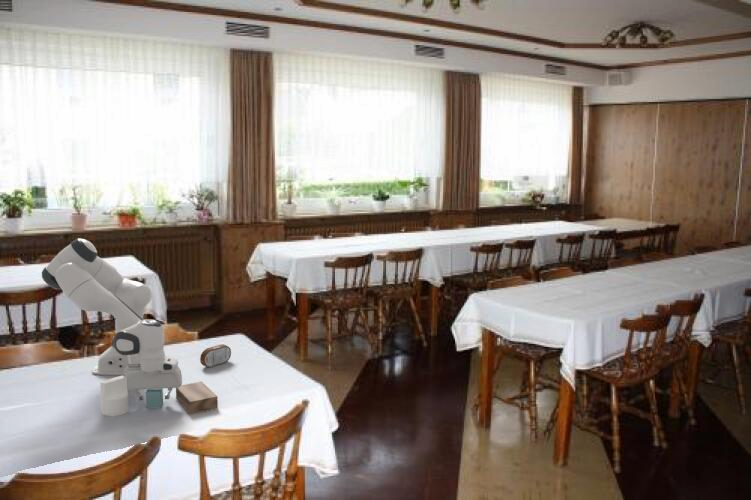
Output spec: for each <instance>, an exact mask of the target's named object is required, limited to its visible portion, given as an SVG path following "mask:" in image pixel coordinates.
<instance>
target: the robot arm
mask: <svg viewBox="0 0 751 500" xmlns="http://www.w3.org/2000/svg"><path fill="white" fill-rule="evenodd" d="M41 278H42V280H43V282H45V283H46V285H48V286H49V287H50V288H51V289H55V290H62V292H63V293H64V294H65V296H66V297H67V298H68V299H69V301H71V302H72V303H73V304H74V305H75V306H76V307H77V308H79V309H81V310H82V311H85V312H103V313H107V314H110V315H111V316H113V317H114V318H115V320H114V325H115V334H114V335H113V336H112V338H111V339H110V345H111V346H109V347H108V348H107V349H106V350H104V352H103V353H101V354H100V355H99V358H98V363H97V364H96V365H95V366H94V367H93V368H92V374H93V375H106V376H109V375H110V376H122V375H123V376H125V377H127V390H128V391H129V390H130V391H132V390H134V393H135V394H136V397H137V398H138V399H137V400H138V402H139V401H143V400H144V394H141V392H140V390H147V389H160V388H163V389H167V391H168V392H167V393H166V392H165V394H164V400H170V399H171V392H172V391H173V389H176V388H179V387H180V386H181V385H183V376H182V371H181V368H180V367H179V366H178V365H179V360H178V359H176V358H173V357H168V356H166V353H165V350H164V347H165V335H164V334H165V333H164V328H163V324H162V323H161V322H160V321H158V320H157V319H151V318H147V319H144V314H145V310H146V307H147V306H148V304H149V303H150V302H151V300H152V296H153V294H152V290H151V289H150V288H149V286H147V285H146V284H144V283H143V282H140V281H136V280H133V279H129V278H126V277H125V276H123V275H122V274H121V273H119V272H118V271H117V269H116V268H115V267H114V266H113V265H111V264H110V263H108V262H107V261H106V260H104V259H102V258H101V257H99V256H98V249H96V246H94V244H93V243H92V242H91V241H89V240H87V239H85V238H78V237H77V238H76V239H74V240H73V241H71V242H70V244H68V245H67V246H65V247H64V248H63V249H61V250H60V251H59V252H58V253H57V255H55V257H54V258H53V259H51V261H50V262H49V263H48V264H47V265H46V266H45V267H44V268H43V269H42V271H41Z"/></svg>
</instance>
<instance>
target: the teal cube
mask: <svg viewBox="0 0 751 500" xmlns="http://www.w3.org/2000/svg"><path fill="white" fill-rule="evenodd" d="M163 390H164V388H160V389H146V391H145V403H146V404H145V405H146V409H151V408H152V409H153V408H154V407H157V408H162V406H161V405H163V403H164V392H163ZM154 409H155V408H154Z"/></svg>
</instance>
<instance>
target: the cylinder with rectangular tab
mask: <svg viewBox="0 0 751 500" xmlns="http://www.w3.org/2000/svg"><path fill="white" fill-rule="evenodd" d="M99 385H100V403H101V413H102V415H103V416H105V417H116V416H117V417H118V416H121V415H124V414H126V413H128V411H129V410H130V407H129V405H130V404H129V393H128V392H129V390H127V377H125V375H117V376H116V377H111V378H107V379H105V380H101V381H99Z"/></svg>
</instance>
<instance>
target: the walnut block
mask: <svg viewBox="0 0 751 500" xmlns="http://www.w3.org/2000/svg"><path fill="white" fill-rule="evenodd" d="M175 399H177V401H178V400H179V401H178V402H179V403H180V404H181V405H182V406H183V408H185V409H187V410H186V411H187V412H188V413H189V414H190V415H194V414H198V413H203V412H208V411H211V409H212V410H217V409H218V408H219V407H218V404H219V403H218V395H217V394H216V393H214V391H213V390H212V389H210V388H209V387H208V386H207V385H206V384H205V383H204V382H203V381H197V382H192V383H191V382H190V383H185V384H182V385H181V386H180V387H179V388H175ZM216 408H217V409H216ZM207 410H208V411H207Z"/></svg>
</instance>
